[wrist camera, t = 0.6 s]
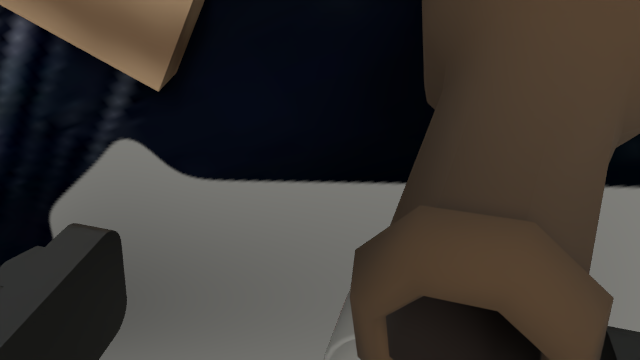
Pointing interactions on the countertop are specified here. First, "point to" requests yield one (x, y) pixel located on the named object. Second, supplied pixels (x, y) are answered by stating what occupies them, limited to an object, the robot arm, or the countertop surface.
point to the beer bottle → (504, 186)
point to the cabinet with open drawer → (120, 31)
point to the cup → (343, 336)
